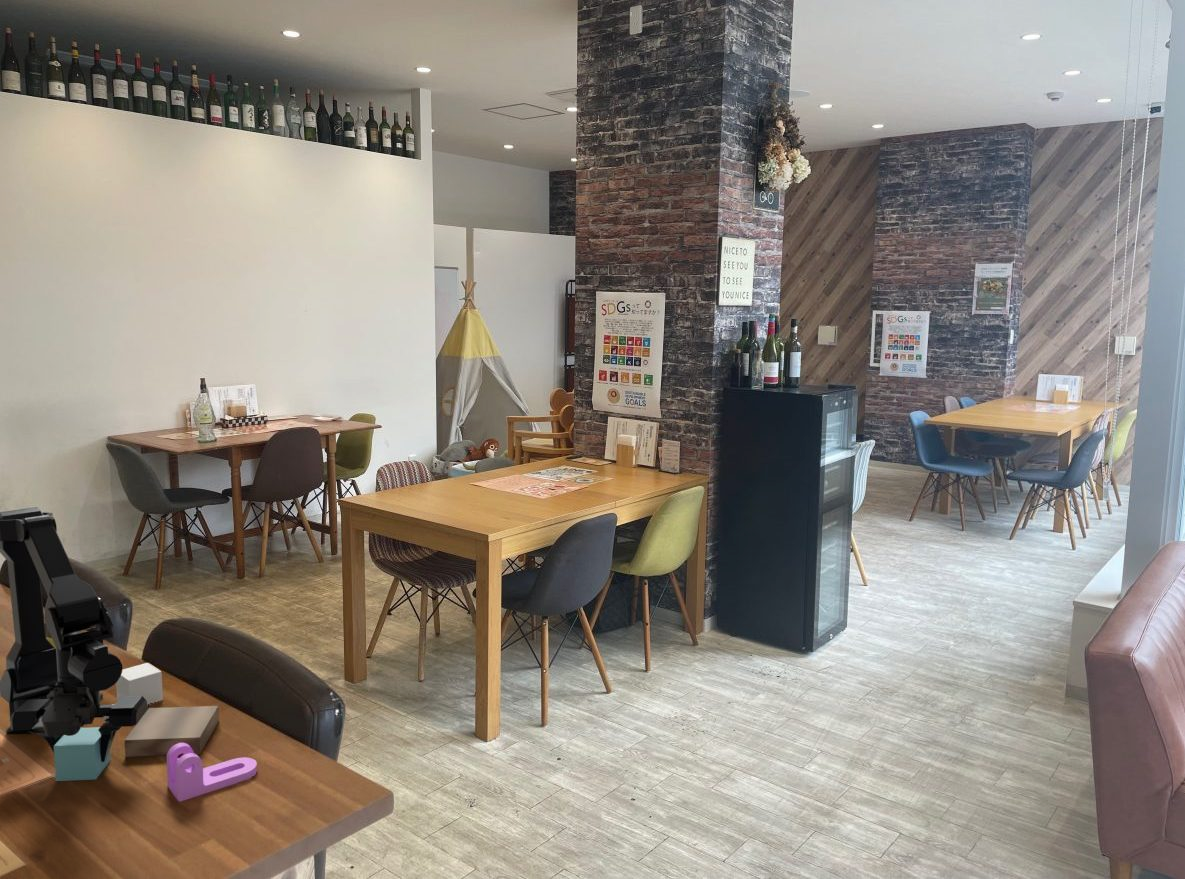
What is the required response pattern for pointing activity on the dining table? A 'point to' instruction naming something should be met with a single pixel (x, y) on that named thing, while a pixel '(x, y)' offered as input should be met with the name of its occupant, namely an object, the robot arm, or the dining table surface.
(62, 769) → the teal cube
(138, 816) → the dining table surface
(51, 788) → the dining table surface
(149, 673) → the white cube
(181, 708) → the walnut stand
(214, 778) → the bracket
